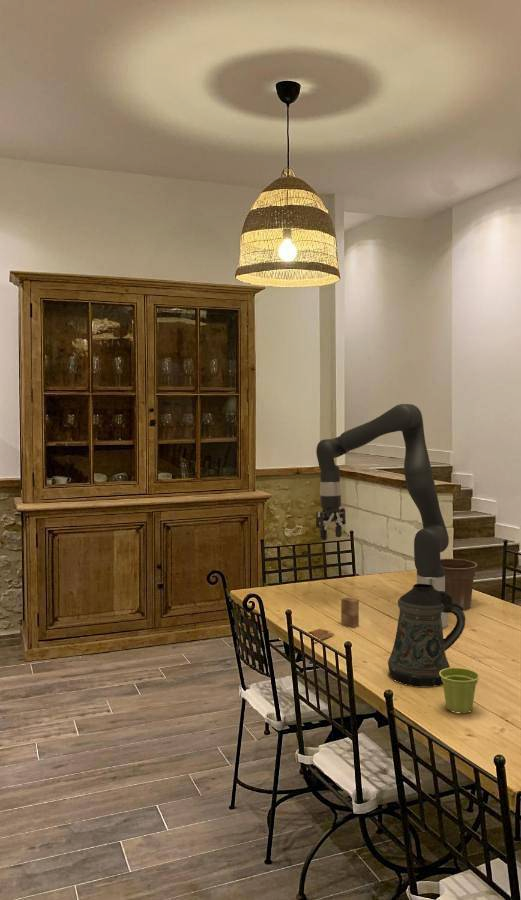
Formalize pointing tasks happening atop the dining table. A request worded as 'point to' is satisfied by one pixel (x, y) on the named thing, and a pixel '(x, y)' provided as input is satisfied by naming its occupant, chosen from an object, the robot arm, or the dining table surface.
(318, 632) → the shard
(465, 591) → the plant pot
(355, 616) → the walnut slab
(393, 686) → the dining table surface
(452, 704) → the plant pot
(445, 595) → the beer stein
